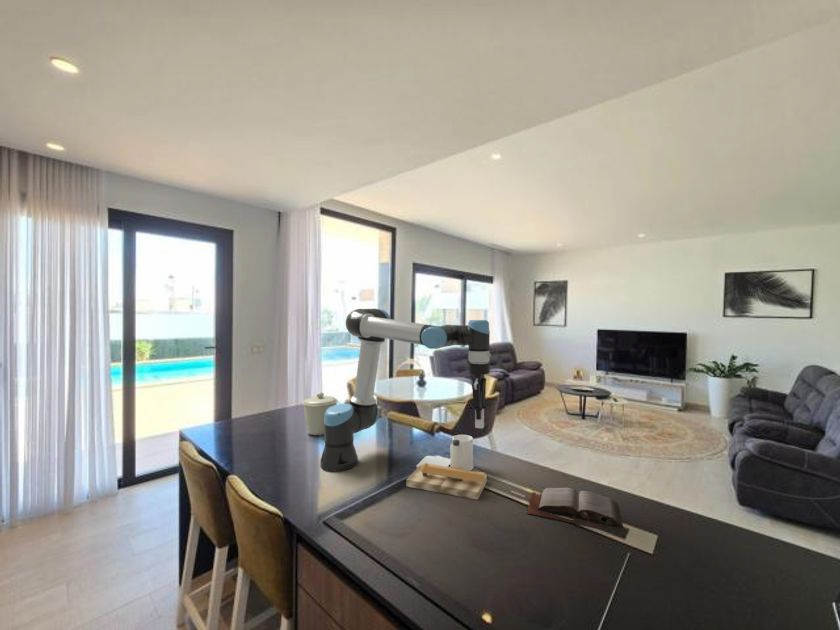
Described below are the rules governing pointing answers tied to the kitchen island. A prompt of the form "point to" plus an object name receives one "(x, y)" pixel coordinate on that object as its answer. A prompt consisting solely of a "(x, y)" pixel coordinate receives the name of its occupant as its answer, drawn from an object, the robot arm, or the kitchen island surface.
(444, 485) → the socket board
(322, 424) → the canister
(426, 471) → the wooden bar
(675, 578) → the kitchen island surface
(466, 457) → the mug
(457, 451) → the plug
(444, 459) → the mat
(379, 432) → the kitchen island surface
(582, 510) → the book
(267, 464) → the kitchen island surface
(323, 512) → the kitchen island surface
